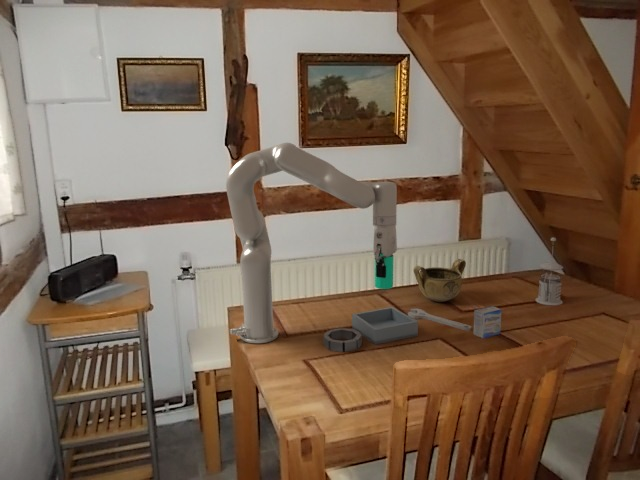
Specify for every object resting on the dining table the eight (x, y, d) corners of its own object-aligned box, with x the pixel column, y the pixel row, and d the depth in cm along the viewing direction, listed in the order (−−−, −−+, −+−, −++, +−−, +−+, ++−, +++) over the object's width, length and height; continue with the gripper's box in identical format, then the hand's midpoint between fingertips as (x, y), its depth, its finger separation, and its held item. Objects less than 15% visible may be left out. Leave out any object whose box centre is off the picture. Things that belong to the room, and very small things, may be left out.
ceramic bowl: (449, 289, 232) (450, 254, 228) (476, 301, 216) (478, 264, 213) (403, 297, 223) (404, 261, 219) (428, 310, 208) (429, 271, 204)
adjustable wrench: (473, 330, 189) (473, 325, 189) (461, 336, 185) (462, 331, 185) (415, 311, 208) (415, 307, 207) (403, 316, 204) (403, 311, 203)
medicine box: (482, 339, 181) (483, 313, 179) (472, 334, 185) (474, 309, 183) (500, 334, 185) (502, 309, 183) (490, 329, 188) (492, 305, 186)
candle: (396, 287, 184) (397, 251, 181) (381, 290, 181) (381, 254, 178) (386, 282, 189) (386, 247, 186) (371, 285, 186) (371, 250, 183)
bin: (374, 344, 178) (374, 329, 177) (352, 327, 193) (351, 314, 192) (417, 335, 185) (417, 321, 183) (392, 320, 199) (392, 306, 198)
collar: (333, 354, 172) (333, 345, 171) (318, 340, 182) (318, 332, 182) (367, 347, 176) (367, 338, 176) (350, 334, 187) (350, 326, 186)
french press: (564, 299, 217) (569, 236, 211) (559, 308, 207) (564, 242, 202) (538, 295, 222) (542, 233, 216) (531, 304, 212) (535, 239, 207)
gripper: (386, 226, 171) (386, 283, 175) (404, 216, 186) (403, 269, 190) (363, 224, 174) (363, 280, 178) (382, 215, 189) (382, 267, 193)
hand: (384, 274), depth 184 cm, fingers closed on candle, 5 cm apart
